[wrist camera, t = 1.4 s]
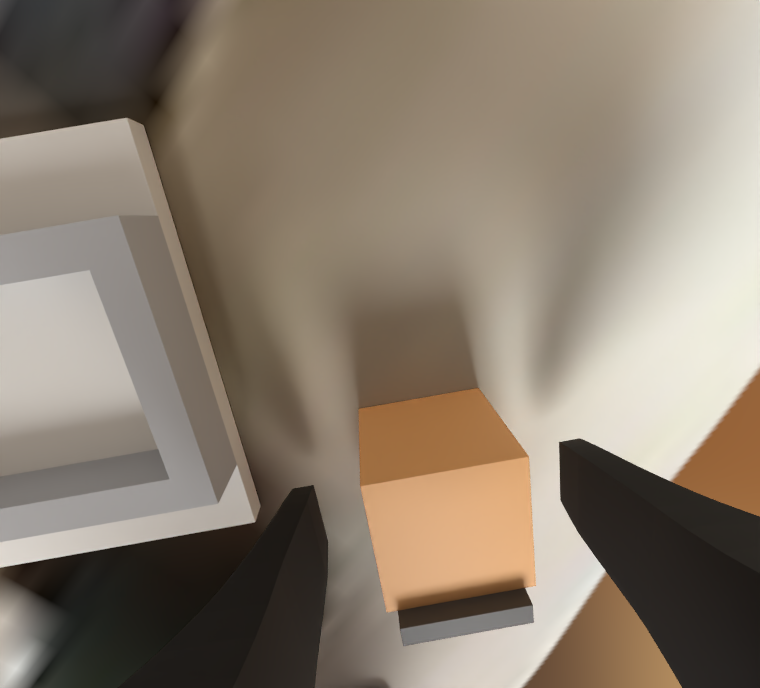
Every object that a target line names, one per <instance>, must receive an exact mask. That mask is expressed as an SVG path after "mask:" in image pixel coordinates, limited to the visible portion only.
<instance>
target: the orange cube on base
mask: <svg viewBox="0 0 760 688" xmlns="http://www.w3.org/2000/svg"><path fill="white" fill-rule="evenodd" d="M359 450H360V487H361V492H362V497H363V502H364V506H365V511H366V516H367V521H368V526H369V530H370V535H371V540H372V545H373V549H374V554H375V559H376V564H377V568H378V573H379V578H380V583H381V587H382V592H383V597H384V602H385V606H386V611H387V612H393V611H398V615H399V624H400V631H401V636H402V641H403V646H406V645H412V644H418V643H423V642H429V641H434V640H440V639H445V638H451V637H456V636H462V635H467V634H473V633H479V632H484V631H490V630H495V629H501V628H506V627H512V626H517V625H523V624H528V623H534V618H533V605H532V603H531V600H530V598H529V596H528V594H527V592H526V590H525V588H526V587H532V586H536V579H535V561H534V542H533V524H532V505H531V487H530V468H529V456H528V455H527V453H526V452H525V451H524V449H523V448H522V447H521V445H520V444H519V443H518V441H517V440H516V438H515V437H514V436H513V434H512V433H511V432H510V430H509V429H508V428H507V426H506V425H505V423H504V422H503V421H502V419H501V418H500V417H499V415H498V414H497V413H496V411H495V410H494V408H493V407H492V406H491V404H490V403H489V402H488V400H487V399H486V398H485V396H484V395H483V394H482V392H481V391H480V389H479V388H475V389H469V390H464V391H458V392H452V393H446V394H441V395H435V396H429V397H424V398H418V399H412V400H406V401H401V402H395V403H389V404H383V405H378V406H372V407H366V408H361V409H359Z"/></svg>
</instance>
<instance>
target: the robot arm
mask: <svg viewBox="0 0 760 688" xmlns="http://www.w3.org/2000/svg"><path fill="white" fill-rule="evenodd" d="M559 453H560V497H561V502H562V504H563V506H564V508H565V509H566V511H567V513H568V515H569V517H570V519H571V520H572V522H573V524H574V526H575V527H576V529H577V531H578V533H579V534H580V536H581V537H582V538H583V540H584V541H585V543H586V544H587V545H588V547H589V548H590V550H591V551H592V552H593V554H594V555H595V557H596V558H597V559H598V561H599V562H600V563H601V565H602V566H603V568H604V569H605V570H606V572H607V573H608V574H609V576H610V577H611V579H612V580H613V581H614V583H615V584H616V585H617V587H618V588H619V590H620V591H621V592H622V594H623V595H624V596H625V598H626V599H627V600H628V602H629V603H630V605H631V606H632V607H633V609H634V610H635V612H636V613H637V614H638V616H639V618H640V619H641V620H642V622H643V623H644V625H645V626H646V628H647V629H648V631H649V633H650V634H651V636H652V638H653V639H654V641H655V642H656V644H657V646H658V648H659V649H660V651H661V653H662V654H663V656H664V658H665V659H666V661H667V663H668V664H669V666H670V668H671V669H672V671H673V673H674V674H675V676H676V678H677V679H678V681H679V683H680V685H681V686H682V688H760V517H759V516H756V515H754V514H751V513H748V512H745V511H742V510H740V509H737V508H734V507H732V506H729V505H726V504H723V503H720V502H718V501H715V500H713V499H710V498H708V497H705V496H703V495H700V494H698V493H696V492H693V491H691V490H688V489H686V488H684V487H682V486H679V485H677V484H675V483H672V482H670V481H668V480H666V479H664V478H661V477H659V476H657V475H655V474H653V473H651V472H649V471H647V470H644V469H642V468H640V467H638V466H636V465H634V464H632V463H630V462H628V461H626V460H624V459H622V458H620V457H618V456H616V455H614V454H612V453H610V452H608V451H606V450H604V449H602V448H600V447H598V446H596V445H593V444H591V443H589V442H587V441H585V440H582V439H574V440H569V441H563V442H559ZM327 576H328V540H327V536H326V532H325V528H324V524H323V520H322V516H321V512H320V508H319V505H318V501H317V497H316V493H315V489H314V485H312V486H306V487H300V488H295V489H292V491H291V492H290V493H289V495H288V496H287V498H286V499H285V501H284V502H283V504H282V505H281V507H280V508H279V510H278V511H277V513H276V515H275V516H274V518H273V519H272V521H271V522H270V524H269V525H268V526H267V528H266V529H265V531H264V532H263V534H262V535H261V537H260V538H259V539H258V541H257V542H256V544H255V545H254V546H253V548H252V549H251V551H250V552H249V553H248V555H247V556H246V557H245V558H244V560H243V561H242V562H241V564H240V565H239V566H238V568H237V569H236V570H235V571H234V573H233V574H232V575H231V577H230V578H229V579H228V580H227V581H226V583H225V584H224V585H223V586H222V587H221V589H220V590H219V591H218V592H217V593H216V594H215V595H214V596H213V597H212V599H211V600H210V601H209V602H208V603H207V604H206V605H205V606H204V607H203V609H202V610H201V611H200V612H199V613H198V614H197V615H196V616H195V617H194V618H193V619H192V620H191V621H190V622H189V623H188V624H187V625H186V626H185V627H184V628H183V629H182V630H181V631H180V632H179V633H178V634H177V635H176V636H175V637H173V638H172V639H171V640H170V641H169V642H168V643H167V644H166V645H165V646H164V647H163V648H162V649H161V650H160V651H159V652H158V653H157V654H156V655H155V656H154V657H152V658H151V659H150V660H149V661H148V662H147V663H146V664H145V665H143V666H142V667H141V668H140V669H139V670H138V671H137V672H135V673H134V674H133V675H132V676H131V677H130V678H128V679H127V680H126V681H125V682H124V683H123V684H121V685H120V686H119V687H118V688H315V678H316V667H317V659H318V651H319V643H320V635H321V627H322V619H323V611H324V603H325V594H326V586H327Z"/></svg>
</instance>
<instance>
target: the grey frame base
mask: <svg viewBox="0 0 760 688" xmlns="http://www.w3.org/2000/svg"><path fill="white" fill-rule="evenodd" d="M260 506H261V505H260V502H259V498H258V495H257V492H256V489H255V485H254V482H253V479H252V476H251V472H250V469H249V466H248V463H247V459H246V456H245V453H244V450H243V446H242V443H241V440H240V437H239V433H238V430H237V427H236V424H235V420H234V417H233V414H232V411H231V407H230V404H229V401H228V398H227V394H226V391H225V388H224V385H223V381H222V378H221V375H220V372H219V368H218V365H217V362H216V359H215V355H214V352H213V349H212V346H211V342H210V339H209V336H208V333H207V329H206V326H205V323H204V320H203V316H202V313H201V310H200V307H199V303H198V300H197V297H196V294H195V290H194V287H193V284H192V281H191V277H190V274H189V271H188V268H187V264H186V261H185V258H184V255H183V251H182V248H181V245H180V242H179V238H178V235H177V232H176V229H175V225H174V222H173V219H172V216H171V212H170V209H169V206H168V203H167V199H166V196H165V193H164V190H163V186H162V183H161V180H160V177H159V173H158V170H157V167H156V164H155V160H154V157H153V154H152V151H151V147H150V144H149V141H148V138H147V134H146V131H145V128H144V125H142V124H140V123H138V122H135V121H133V120H131V119H129V118H122V119H116V120H110V121H104V122H98V123H92V124H86V125H80V126H74V127H68V128H62V129H56V130H50V131H44V132H38V133H32V134H26V135H20V136H14V137H8V138H2V139H0V567H6V566H11V565H17V564H23V563H28V562H34V561H40V560H45V559H51V558H57V557H62V556H68V555H73V554H79V553H85V552H90V551H96V550H102V549H107V548H113V547H119V546H124V545H130V544H136V543H141V542H147V541H153V540H158V539H164V538H169V537H175V536H181V535H186V534H192V533H198V532H203V531H209V530H215V529H220V528H226V527H232V526H237V525H243V524H248V523H254V522H256V519H257V516H258V512H259V509H260Z"/></svg>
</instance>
